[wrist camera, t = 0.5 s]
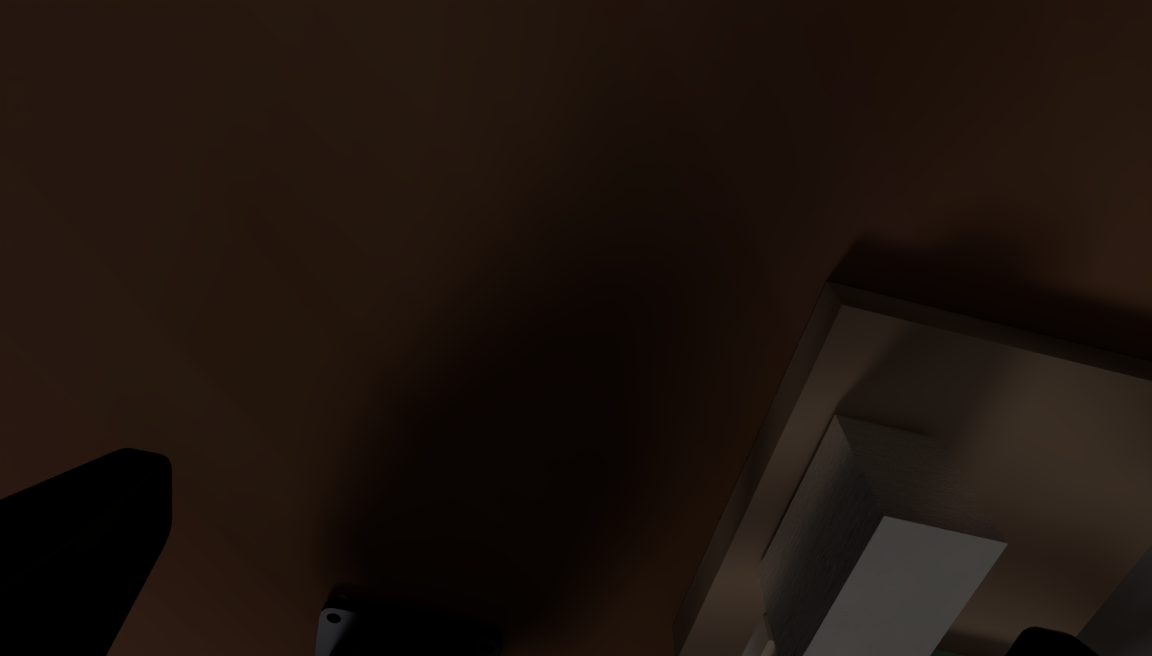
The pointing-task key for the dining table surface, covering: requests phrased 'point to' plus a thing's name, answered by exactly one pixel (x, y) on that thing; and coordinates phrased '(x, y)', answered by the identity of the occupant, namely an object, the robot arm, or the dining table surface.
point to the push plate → (875, 547)
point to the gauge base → (983, 456)
